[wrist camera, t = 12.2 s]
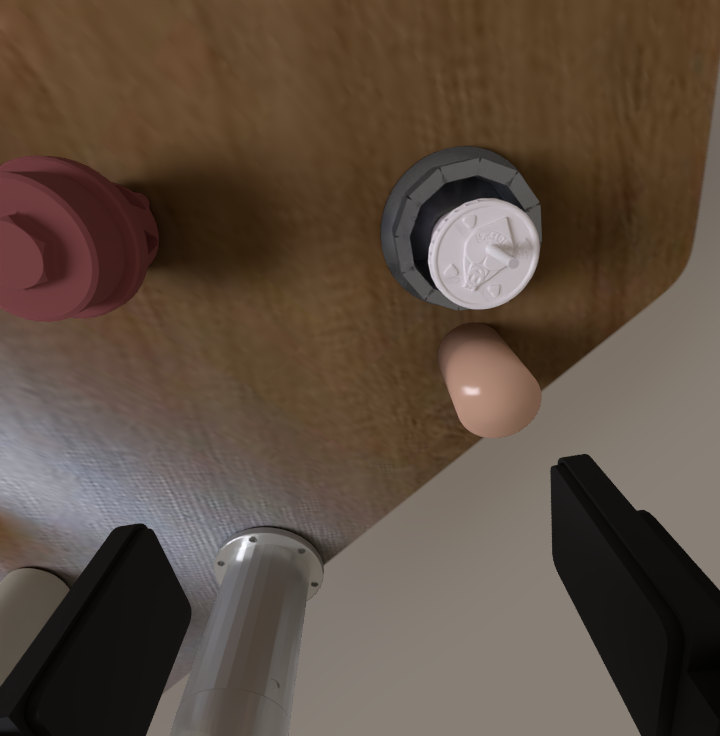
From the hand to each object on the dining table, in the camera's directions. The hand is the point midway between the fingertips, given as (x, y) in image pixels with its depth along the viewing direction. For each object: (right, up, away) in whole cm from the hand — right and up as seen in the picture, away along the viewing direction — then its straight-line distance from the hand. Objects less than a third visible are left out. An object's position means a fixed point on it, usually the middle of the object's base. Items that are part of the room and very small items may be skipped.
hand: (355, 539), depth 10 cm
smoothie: (+8, +15, +24) cm, 29 cm away
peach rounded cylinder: (+10, +5, +29) cm, 31 cm away
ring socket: (+8, +15, +24) cm, 30 cm away
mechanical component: (-19, +15, +25) cm, 35 cm away
